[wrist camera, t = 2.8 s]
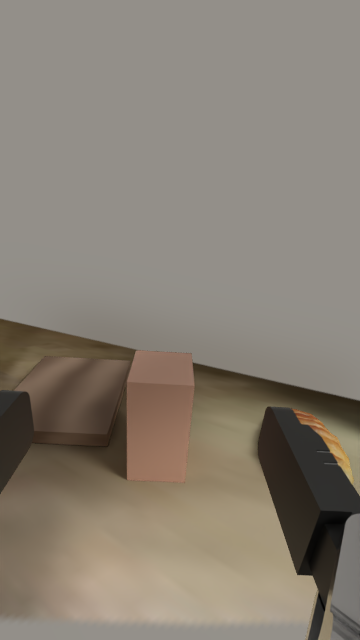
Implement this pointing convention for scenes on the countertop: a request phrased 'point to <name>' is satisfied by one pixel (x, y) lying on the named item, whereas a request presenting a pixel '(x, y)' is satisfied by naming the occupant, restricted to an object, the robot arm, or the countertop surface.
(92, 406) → the walnut board
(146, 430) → the tall block
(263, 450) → the robot arm
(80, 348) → the countertop surface
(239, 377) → the countertop surface
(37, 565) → the countertop surface
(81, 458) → the countertop surface
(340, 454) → the pastry
